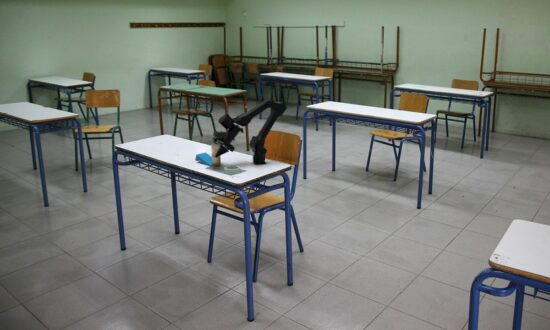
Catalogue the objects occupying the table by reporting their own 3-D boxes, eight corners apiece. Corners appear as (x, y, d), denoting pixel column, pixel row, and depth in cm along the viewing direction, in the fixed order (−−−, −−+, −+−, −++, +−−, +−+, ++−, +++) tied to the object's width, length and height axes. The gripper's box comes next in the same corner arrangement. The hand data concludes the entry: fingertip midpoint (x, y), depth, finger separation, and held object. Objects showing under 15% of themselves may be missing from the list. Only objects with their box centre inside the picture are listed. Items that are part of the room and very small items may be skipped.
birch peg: (220, 164, 267) (219, 143, 264) (221, 166, 263) (221, 145, 259) (211, 165, 266) (210, 144, 263) (213, 167, 261) (212, 146, 258)
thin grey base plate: (204, 170, 264) (204, 163, 263) (220, 165, 273) (220, 159, 272) (231, 177, 250) (230, 171, 249) (247, 173, 258) (247, 166, 257)
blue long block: (218, 173, 274) (200, 160, 285) (220, 163, 271) (202, 149, 282) (209, 176, 270) (191, 162, 280) (210, 165, 267) (192, 151, 277)
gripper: (214, 122, 268) (197, 144, 265) (228, 127, 252) (210, 150, 250) (227, 134, 274) (211, 155, 271) (242, 140, 258) (224, 163, 256)
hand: (213, 156), depth 262 cm, fingers closed on birch peg, 5 cm apart
